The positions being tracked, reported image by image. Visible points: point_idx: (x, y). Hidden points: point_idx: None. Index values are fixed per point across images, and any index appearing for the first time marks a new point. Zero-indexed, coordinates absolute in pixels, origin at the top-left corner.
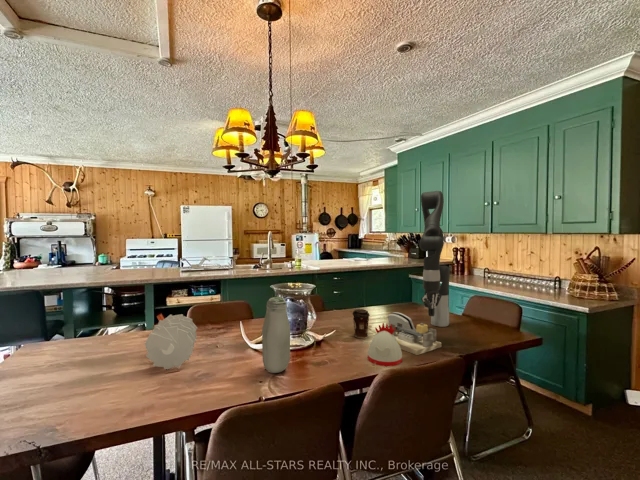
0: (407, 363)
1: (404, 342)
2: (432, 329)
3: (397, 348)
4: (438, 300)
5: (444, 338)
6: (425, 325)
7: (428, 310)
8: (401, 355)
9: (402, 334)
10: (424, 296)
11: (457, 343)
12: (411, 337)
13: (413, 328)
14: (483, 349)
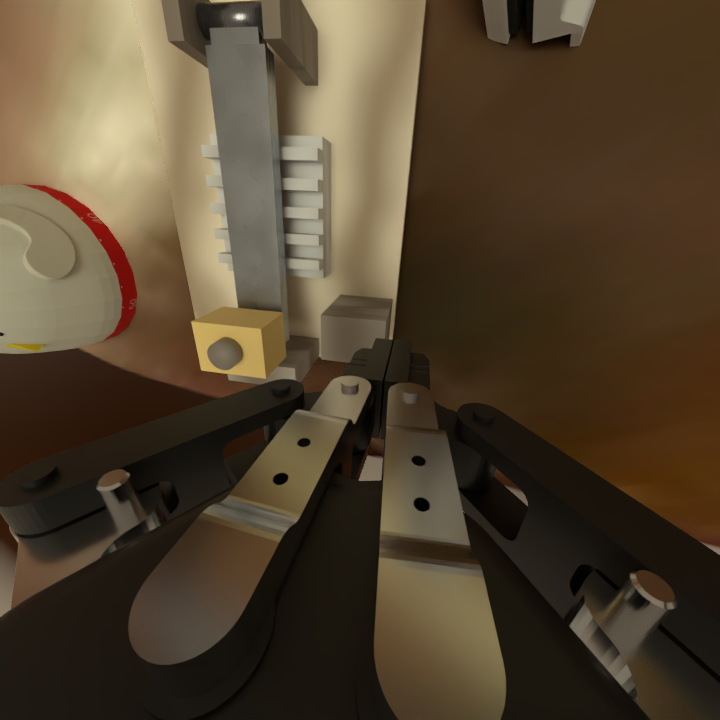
0: (131, 355)
1: (218, 227)
2: (365, 346)
3: (34, 352)
4: (526, 565)
5: (555, 295)
6: (244, 372)
7: (344, 373)
8: (93, 342)
9: (210, 186)
10: (23, 581)
11: (510, 383)
12: None
13: (539, 16)
14: (506, 481)
